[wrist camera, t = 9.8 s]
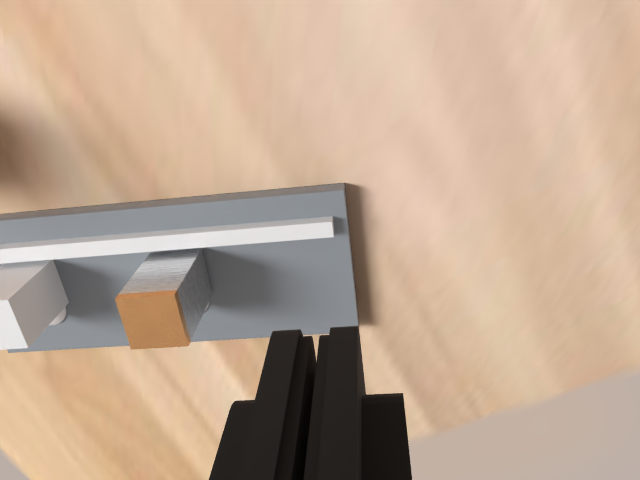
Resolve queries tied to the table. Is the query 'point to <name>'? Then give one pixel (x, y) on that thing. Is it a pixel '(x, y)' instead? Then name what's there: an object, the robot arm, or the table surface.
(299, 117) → the table surface
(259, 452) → the robot arm
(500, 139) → the table surface
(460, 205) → the table surface
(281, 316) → the divider plate
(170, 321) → the block
